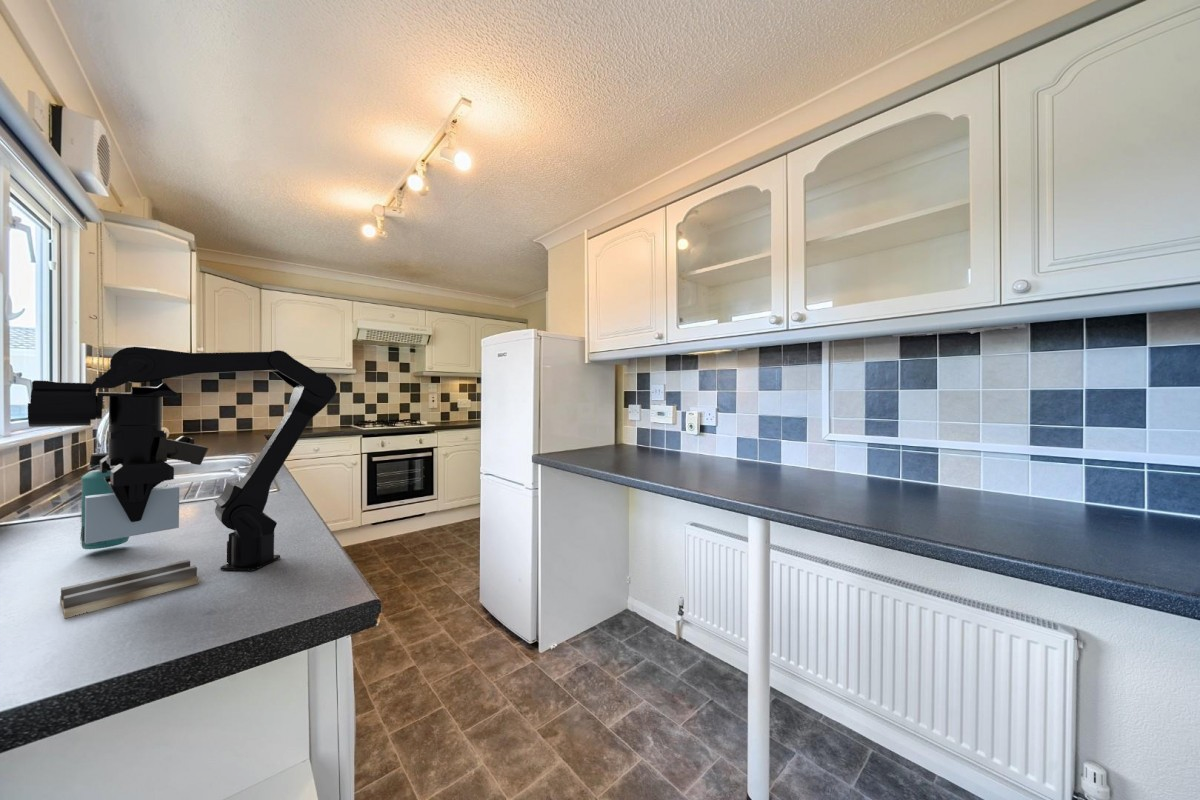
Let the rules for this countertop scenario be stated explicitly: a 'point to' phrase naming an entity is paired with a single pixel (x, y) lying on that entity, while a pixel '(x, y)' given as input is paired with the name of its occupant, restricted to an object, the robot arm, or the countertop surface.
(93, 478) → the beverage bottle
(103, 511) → the door panel
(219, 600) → the countertop surface
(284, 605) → the countertop surface
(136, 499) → the robot arm
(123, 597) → the door track
